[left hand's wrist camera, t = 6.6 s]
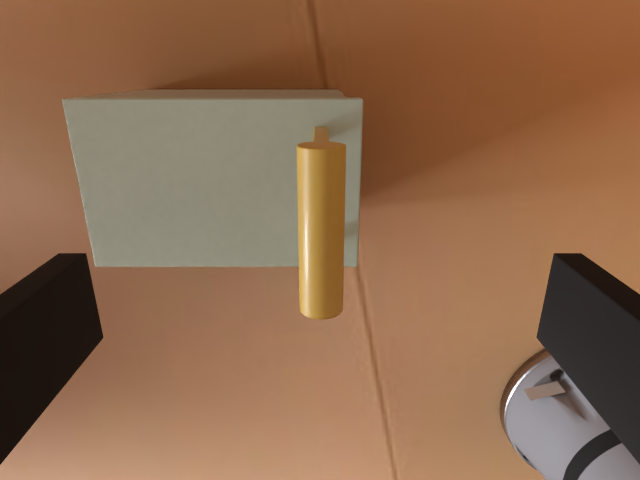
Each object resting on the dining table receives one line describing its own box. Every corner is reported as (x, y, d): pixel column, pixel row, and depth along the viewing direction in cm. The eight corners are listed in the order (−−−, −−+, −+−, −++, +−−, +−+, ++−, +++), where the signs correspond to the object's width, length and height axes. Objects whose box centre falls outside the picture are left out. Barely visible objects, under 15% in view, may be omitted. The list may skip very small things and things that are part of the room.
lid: (361, 97, 24) (384, 112, 15) (356, 258, 27) (373, 345, 18) (73, 97, 23) (-65, 112, 15) (104, 259, 27) (5, 345, 18)
